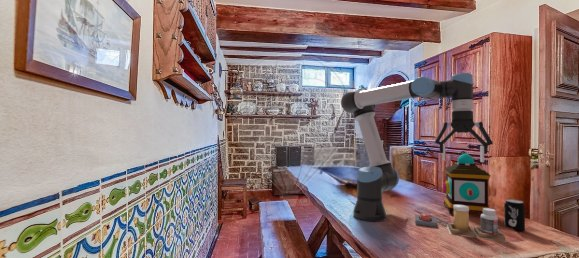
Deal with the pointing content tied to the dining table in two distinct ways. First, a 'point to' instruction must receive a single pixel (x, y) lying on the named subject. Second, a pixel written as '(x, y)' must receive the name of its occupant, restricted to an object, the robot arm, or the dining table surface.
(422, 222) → the grey square frame
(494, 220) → the pill bottle
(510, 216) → the beverage can
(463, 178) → the decorative lantern
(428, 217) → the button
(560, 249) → the dining table surface
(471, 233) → the wooden divided tray
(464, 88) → the robot arm
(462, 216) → the amber capped bottle
